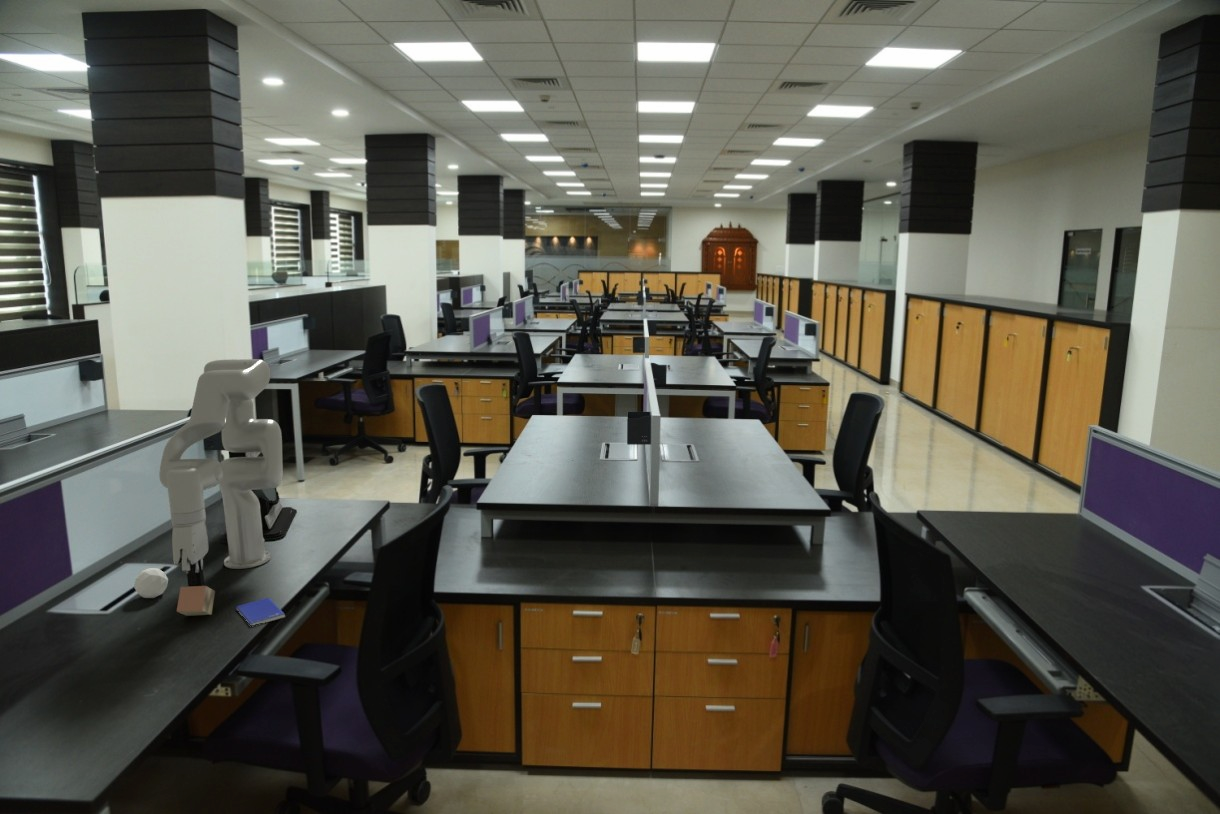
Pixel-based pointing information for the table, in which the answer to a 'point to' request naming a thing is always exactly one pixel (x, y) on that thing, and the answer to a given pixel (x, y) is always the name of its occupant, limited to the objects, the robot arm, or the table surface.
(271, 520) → the award
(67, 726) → the table surface
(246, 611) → the hard drive
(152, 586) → the geometric ball
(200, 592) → the maple cube
